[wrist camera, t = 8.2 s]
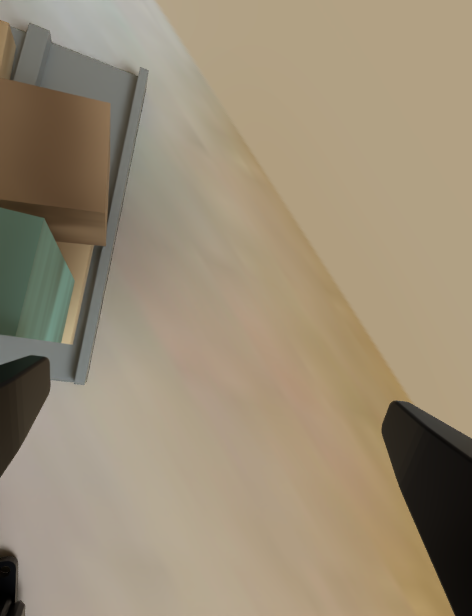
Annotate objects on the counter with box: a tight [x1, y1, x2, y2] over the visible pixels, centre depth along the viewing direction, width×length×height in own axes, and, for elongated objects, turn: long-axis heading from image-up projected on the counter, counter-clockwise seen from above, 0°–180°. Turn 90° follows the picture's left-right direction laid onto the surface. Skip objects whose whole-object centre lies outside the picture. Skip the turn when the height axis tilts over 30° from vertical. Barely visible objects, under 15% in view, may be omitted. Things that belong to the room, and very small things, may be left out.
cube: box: [0, 78, 111, 246], centre depth 16 cm, size 5×5×5 cm
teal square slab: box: [0, 208, 94, 345], centre depth 14 cm, size 4×10×10 cm, turn 172°
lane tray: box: [0, 23, 149, 385], centre depth 18 cm, size 12×19×2 cm, turn 172°
